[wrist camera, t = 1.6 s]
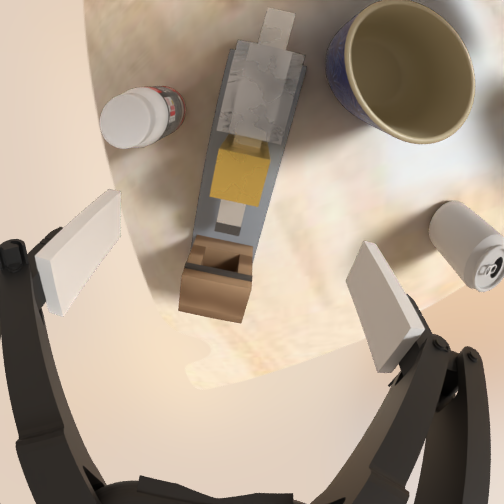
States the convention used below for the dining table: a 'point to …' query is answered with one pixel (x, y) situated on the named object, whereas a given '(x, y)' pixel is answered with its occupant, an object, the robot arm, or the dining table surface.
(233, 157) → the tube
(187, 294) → the socket
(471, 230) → the can
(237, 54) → the sleeve
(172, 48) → the dining table surface
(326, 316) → the dining table surface
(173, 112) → the pill bottle
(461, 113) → the planter
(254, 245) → the board
